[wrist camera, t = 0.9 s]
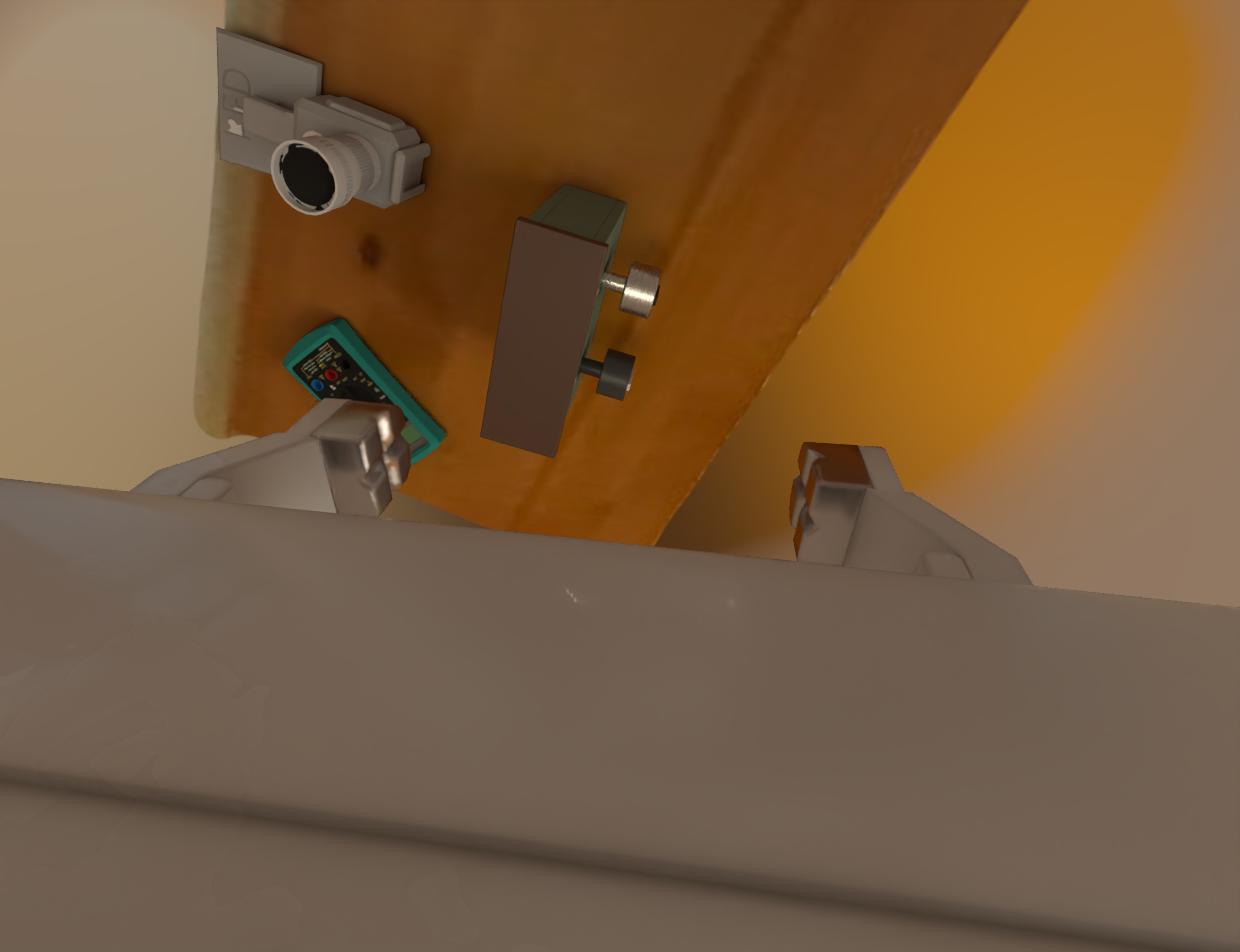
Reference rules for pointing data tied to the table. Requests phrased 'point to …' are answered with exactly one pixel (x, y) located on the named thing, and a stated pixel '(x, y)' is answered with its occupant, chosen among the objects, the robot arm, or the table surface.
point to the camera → (310, 132)
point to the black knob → (611, 373)
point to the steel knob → (635, 288)
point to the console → (549, 316)
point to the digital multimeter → (358, 380)
